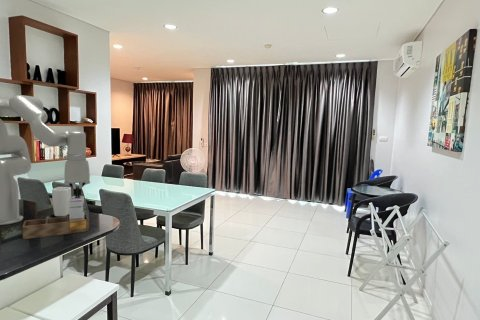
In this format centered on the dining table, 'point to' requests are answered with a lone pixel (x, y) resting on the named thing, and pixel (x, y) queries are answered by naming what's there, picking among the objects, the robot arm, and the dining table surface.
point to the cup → (61, 201)
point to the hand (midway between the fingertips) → (77, 196)
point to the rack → (53, 227)
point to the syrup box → (76, 208)
